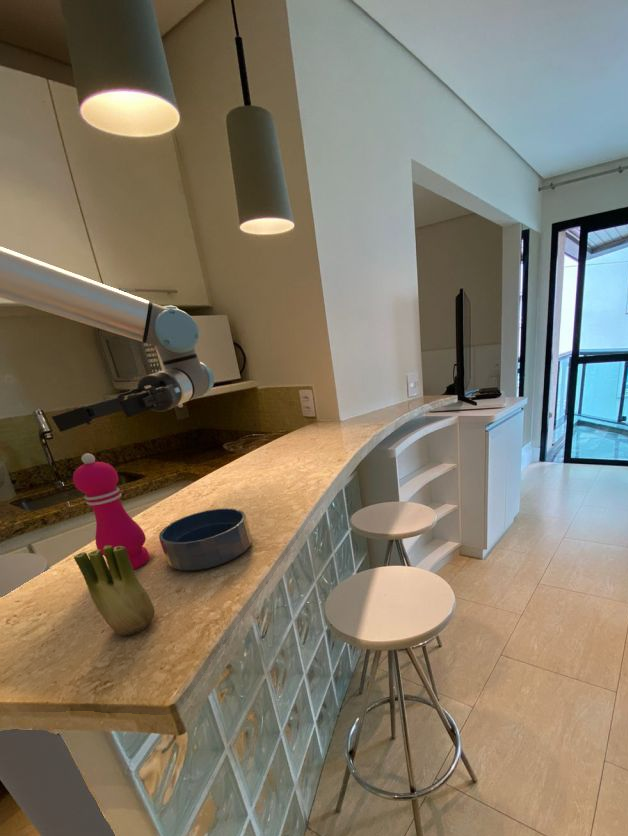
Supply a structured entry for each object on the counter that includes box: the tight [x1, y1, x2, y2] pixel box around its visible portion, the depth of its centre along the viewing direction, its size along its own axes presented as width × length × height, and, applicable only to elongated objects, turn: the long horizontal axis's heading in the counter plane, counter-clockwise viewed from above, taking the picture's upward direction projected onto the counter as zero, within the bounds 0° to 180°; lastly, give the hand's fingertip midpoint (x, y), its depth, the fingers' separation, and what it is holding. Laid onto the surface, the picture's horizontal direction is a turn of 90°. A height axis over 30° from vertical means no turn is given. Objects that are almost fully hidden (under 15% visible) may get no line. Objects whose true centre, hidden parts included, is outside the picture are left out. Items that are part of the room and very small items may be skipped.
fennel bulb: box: [73, 545, 156, 636], centre depth 52 cm, size 6×5×12 cm
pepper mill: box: [72, 452, 151, 570], centre depth 68 cm, size 7×7×20 cm
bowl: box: [158, 507, 253, 571], centre depth 72 cm, size 14×14×6 cm
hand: (90, 416), depth 68 cm, fingers open, 13 cm apart
